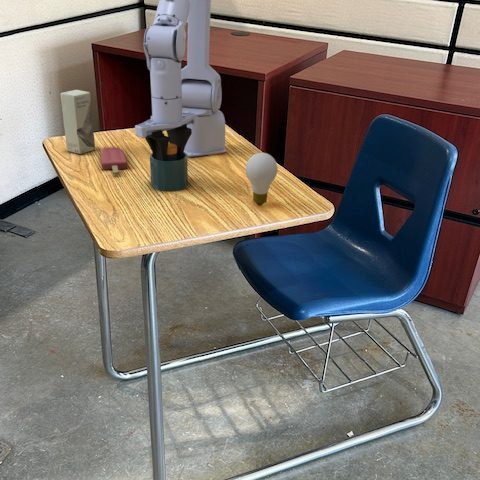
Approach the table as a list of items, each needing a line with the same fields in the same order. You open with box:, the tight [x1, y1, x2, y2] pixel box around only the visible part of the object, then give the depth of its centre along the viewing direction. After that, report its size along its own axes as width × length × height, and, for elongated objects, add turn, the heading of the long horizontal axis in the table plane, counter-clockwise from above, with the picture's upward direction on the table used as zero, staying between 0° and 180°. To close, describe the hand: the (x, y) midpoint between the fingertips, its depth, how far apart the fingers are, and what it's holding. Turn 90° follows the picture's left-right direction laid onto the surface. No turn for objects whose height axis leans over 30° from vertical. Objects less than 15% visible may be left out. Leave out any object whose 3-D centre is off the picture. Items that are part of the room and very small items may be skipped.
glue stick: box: [167, 143, 177, 161], centre depth 121 cm, size 3×3×6 cm
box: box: [60, 89, 96, 155], centre depth 136 cm, size 5×4×13 cm
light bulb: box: [245, 152, 278, 206], centre depth 113 cm, size 6×6×10 cm
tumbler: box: [149, 152, 189, 192], centre depth 122 cm, size 7×7×6 cm
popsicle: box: [100, 146, 128, 175], centre depth 132 cm, size 5×2×15 cm
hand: (169, 166), depth 121 cm, fingers closed on glue stick, 3 cm apart
